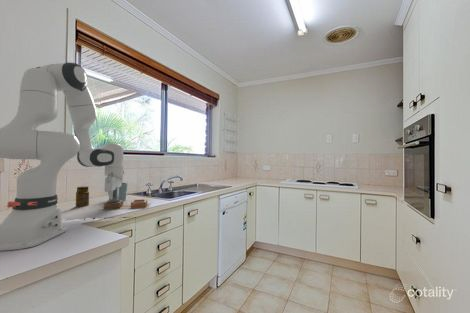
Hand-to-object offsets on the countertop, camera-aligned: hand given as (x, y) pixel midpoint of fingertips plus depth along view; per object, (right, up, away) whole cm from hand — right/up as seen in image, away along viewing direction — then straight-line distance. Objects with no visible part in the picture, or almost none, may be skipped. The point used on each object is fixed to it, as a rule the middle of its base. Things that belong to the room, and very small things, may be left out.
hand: (113, 197), depth 120 cm
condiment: (-18, -7, +1) cm, 19 cm away
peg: (0, -5, 0) cm, 5 cm away
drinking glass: (-7, -7, +18) cm, 20 cm away
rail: (+7, -7, +1) cm, 10 cm away
